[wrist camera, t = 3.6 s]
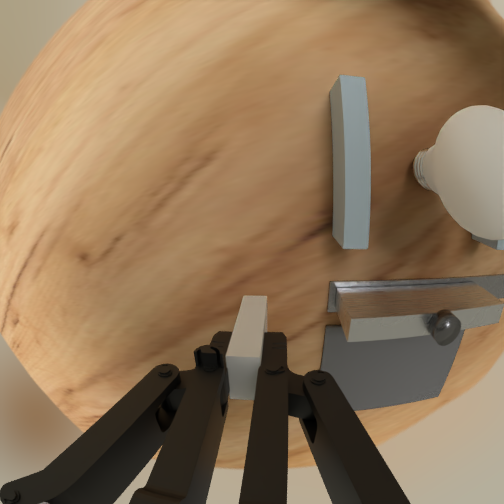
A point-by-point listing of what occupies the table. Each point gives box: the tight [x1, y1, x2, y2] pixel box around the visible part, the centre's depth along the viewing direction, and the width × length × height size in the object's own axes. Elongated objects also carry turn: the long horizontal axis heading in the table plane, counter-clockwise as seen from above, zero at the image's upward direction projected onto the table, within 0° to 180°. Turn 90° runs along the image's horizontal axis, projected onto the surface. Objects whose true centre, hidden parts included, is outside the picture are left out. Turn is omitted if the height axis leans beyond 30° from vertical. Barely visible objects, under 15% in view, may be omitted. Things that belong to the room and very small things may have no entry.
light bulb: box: [412, 105, 504, 240], centre depth 11 cm, size 7×7×11 cm
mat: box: [320, 325, 465, 411], centre depth 21 cm, size 10×14×1 cm
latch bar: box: [335, 282, 504, 346], centre depth 16 cm, size 2×13×6 cm, turn 92°
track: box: [327, 274, 504, 312], centre depth 18 cm, size 2×28×1 cm, turn 92°
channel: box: [330, 75, 504, 250], centre depth 15 cm, size 10×14×4 cm
